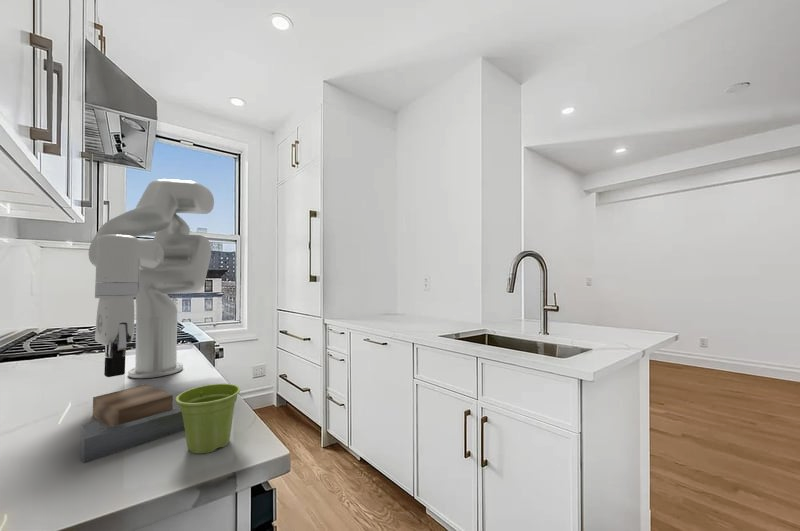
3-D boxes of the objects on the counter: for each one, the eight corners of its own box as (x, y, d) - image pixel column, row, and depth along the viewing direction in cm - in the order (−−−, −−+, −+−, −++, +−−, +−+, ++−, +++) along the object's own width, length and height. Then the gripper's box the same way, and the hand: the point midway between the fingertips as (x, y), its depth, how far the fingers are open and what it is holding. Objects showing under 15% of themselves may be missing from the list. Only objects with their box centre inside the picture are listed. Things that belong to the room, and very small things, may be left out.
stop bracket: (73, 445, 57) (73, 424, 57) (202, 408, 73) (202, 391, 73) (84, 462, 52) (84, 439, 52) (220, 418, 68) (220, 400, 68)
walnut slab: (92, 417, 69) (93, 397, 69) (144, 402, 77) (145, 384, 77) (118, 432, 63) (118, 410, 63) (172, 415, 70) (172, 395, 70)
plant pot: (163, 463, 52) (164, 405, 52) (188, 434, 61) (189, 385, 61) (231, 457, 54) (231, 401, 54) (245, 429, 63) (246, 381, 63)
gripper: (87, 291, 78) (83, 373, 77) (104, 291, 69) (101, 385, 68) (128, 290, 84) (125, 367, 83) (149, 291, 75) (146, 377, 74)
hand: (114, 375), depth 76 cm, fingers closed
